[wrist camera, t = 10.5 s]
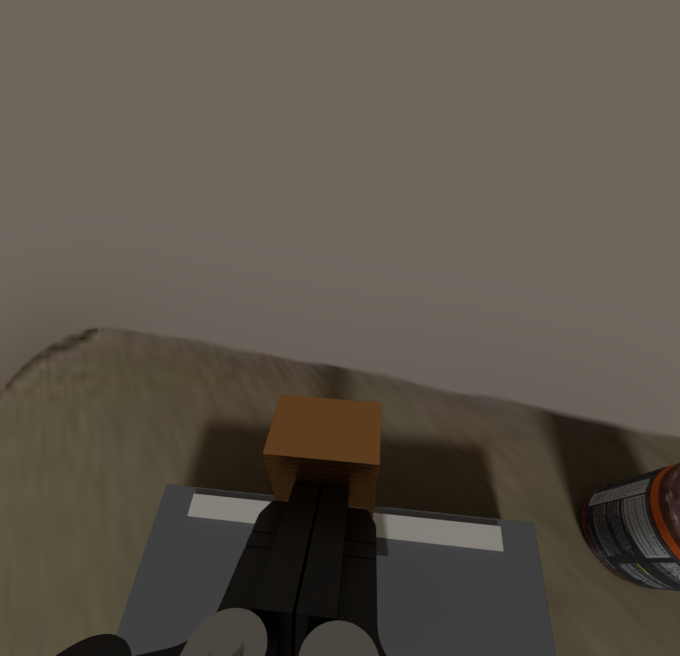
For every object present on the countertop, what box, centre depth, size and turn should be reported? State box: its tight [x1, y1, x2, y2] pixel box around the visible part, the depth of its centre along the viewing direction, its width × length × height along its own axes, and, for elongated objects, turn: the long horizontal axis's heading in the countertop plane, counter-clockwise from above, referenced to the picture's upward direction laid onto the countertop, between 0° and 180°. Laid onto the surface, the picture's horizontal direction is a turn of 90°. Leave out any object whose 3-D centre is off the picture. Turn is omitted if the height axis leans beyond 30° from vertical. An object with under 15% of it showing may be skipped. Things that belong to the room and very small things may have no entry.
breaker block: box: [117, 484, 556, 656], centre depth 20 cm, size 22×8×8 cm, turn 84°
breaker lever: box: [263, 395, 381, 518], centre depth 14 cm, size 3×2×15 cm, turn 84°
